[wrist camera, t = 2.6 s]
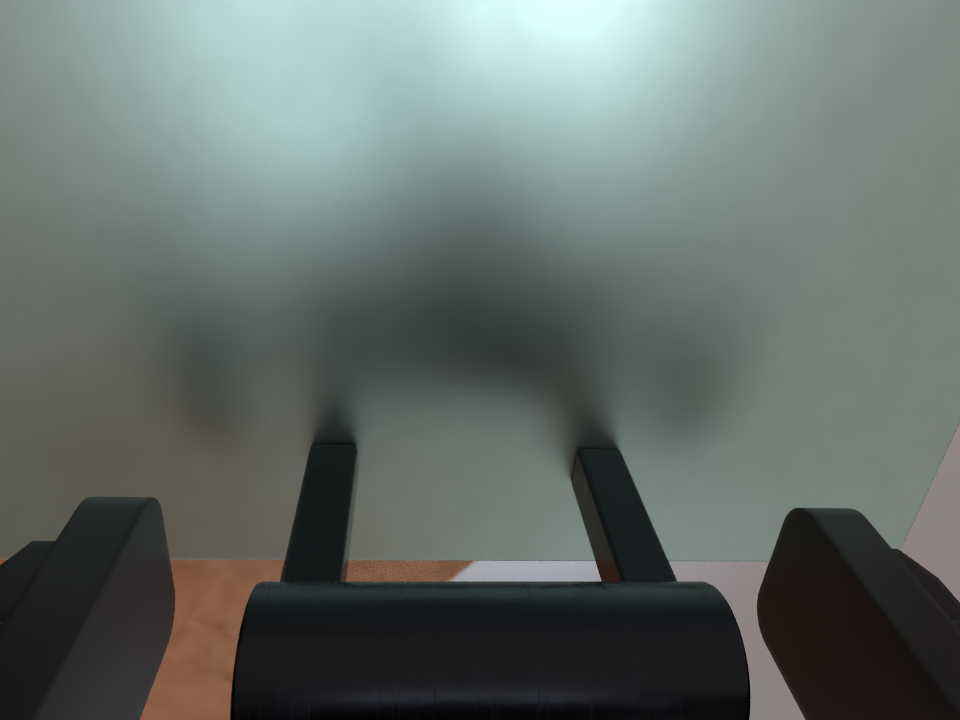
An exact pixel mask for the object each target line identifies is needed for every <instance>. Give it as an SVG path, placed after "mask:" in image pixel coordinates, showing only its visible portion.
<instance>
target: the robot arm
mask: <svg viewBox="0 0 960 720" xmlns="http://www.w3.org/2000/svg"><path fill="white" fill-rule="evenodd" d="M174 612H175V590H174V583H173V577H172V570H171V564H170V558H169V552H168V545H167V539H166V533H165V527H164V520H163V514H162V509H161V506H160V503H159V501H158V500H157V499H156V498H154V497H87V498H85V499H84V500H83V501H82V502H81V503H80V504H79V505H78V507H77V508H76V510H75V511H74V513H73V514H72V516H71V518H70V519H69V521H68V522H67V524H66V525H65V527H64V528H63V530H62V531H61V533H60V535H59V536H58V538H57V539H56V541H31V542H30V543H29V544H28V545H26V546H25V547H24V548H22V549H21V550H20V551H18V552H17V553H16V554H14V555H13V556H12V557H10V558H9V559H8V560H7V561H5V562H4V563H3V564H1V565H0V720H140V717H141V715H142V712H143V709H144V707H145V704H146V701H147V699H148V696H149V693H150V691H151V688H152V685H153V683H154V680H155V677H156V675H157V672H158V669H159V667H160V664H161V661H162V659H163V656H164V653H165V651H166V648H167V645H168V642H169V639H170V635H171V631H172V626H173V620H174ZM757 615H758V621H759V627H760V631H761V634H762V637H763V639H764V641H765V644H766V646H767V647H768V649H769V651H770V653H771V655H772V657H773V659H774V661H775V663H776V665H777V666H778V668H779V670H780V672H781V674H782V676H783V678H784V680H785V682H786V684H787V685H788V687H789V689H790V691H791V693H792V695H793V697H794V699H795V701H796V703H797V704H798V706H799V708H800V710H801V712H802V714H803V716H804V718H805V720H960V602H959V601H958V600H957V599H956V598H955V597H954V596H953V594H952V593H951V592H950V591H949V590H948V589H947V588H946V587H945V585H944V584H943V583H942V582H941V581H940V580H939V578H937V577H936V576H935V575H933V574H932V573H930V572H929V571H928V570H926V569H925V568H923V567H922V566H921V565H919V564H918V563H917V562H915V561H914V560H912V559H911V558H910V557H908V556H907V555H905V554H904V553H903V552H901V551H900V550H899V549H892V548H891V547H890V546H889V545H888V543H887V542H886V541H885V540H884V539H883V537H882V536H881V535H880V534H879V533H878V532H877V530H876V529H875V528H874V527H873V526H872V524H871V523H870V522H869V521H868V520H867V518H866V517H865V516H864V515H863V514H862V513H860V512H859V511H857V510H855V509H851V508H794V509H792V510H791V511H790V512H789V513H788V514H787V516H786V517H785V520H784V522H783V525H782V528H781V530H780V533H779V536H778V539H777V542H776V545H775V547H774V550H773V553H772V556H771V559H770V562H769V565H768V567H767V570H766V573H765V576H764V579H763V582H762V584H761V588H760V591H759V594H758V600H757Z"/></svg>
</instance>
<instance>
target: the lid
mask: <svg viewBox="0 0 960 720" xmlns="http://www.w3.org/2000/svg"><path fill="white" fill-rule="evenodd" d="M959 423H960V0H0V559H9V558H10V557H12V556H13V555H14V554H16V553H17V552H18V551H20V550H21V549H22V548H24V547H25V546H26V545H28V544H29V543H30V542H31V541H56V539H57V538H58V536H59V535H60V533H61V531H62V530H63V528H64V527H65V525H66V524H67V522H68V521H69V519H70V518H71V516H72V514H73V513H74V511H75V510H76V508H77V507H78V505H79V504H80V503H81V502H82V501H83V500H84V499H85V498H87V497H154V498H156V499H157V500H158V501H159V503H160V506H161V509H162V514H163V520H164V527H165V533H166V539H167V545H168V552H169V558H170V559H171V560H285V561H284V565H283V570H282V574H281V579H280V582H261V583H258V584H257V585H256V586H255V587H254V589H253V590H252V593H251V595H250V597H249V600H248V602H247V605H246V609H245V612H244V616H243V620H242V624H241V628H240V633H239V638H238V644H237V650H236V657H235V664H234V672H233V681H232V693H231V709H230V720H749V716H750V680H749V671H748V664H747V658H746V653H745V648H744V644H743V640H742V637H741V634H740V630H739V627H738V624H737V622H736V619H735V617H734V615H733V612H732V610H731V608H730V606H729V604H728V603H727V601H726V599H725V598H724V597H723V595H722V594H721V593H720V592H719V591H718V589H716V588H715V587H714V586H712V585H710V584H708V583H706V582H677V580H676V577H675V575H674V573H673V571H672V568H671V566H670V564H669V561H770V559H771V556H772V553H773V550H774V547H775V545H776V542H777V539H778V536H779V533H780V530H781V528H782V525H783V522H784V520H785V517H786V516H787V514H788V513H789V512H790V511H791V510H792V509H794V508H851V509H855V510H857V511H859V512H860V513H862V514H863V515H864V516H865V517H866V518H867V520H868V521H869V522H870V523H871V524H872V526H873V527H874V528H875V529H876V530H877V532H878V533H879V534H880V535H881V536H882V537H883V539H884V540H885V541H886V542H887V543H888V545H889V546H890V547H891V548H892V549H899V550H900V551H901V549H902V546H903V544H904V542H905V540H906V537H907V536H908V533H909V531H910V529H911V527H912V525H913V523H914V521H915V518H916V516H917V514H918V512H919V510H920V508H921V505H922V503H923V501H924V499H925V497H926V495H927V492H928V490H929V488H930V486H931V484H932V482H933V480H934V477H935V475H936V473H937V471H938V469H939V467H940V464H941V462H942V460H943V458H944V456H945V454H946V451H947V449H948V447H949V445H950V443H951V441H952V439H953V436H954V434H955V432H956V430H957V427H958V426H959ZM348 560H476V561H483V560H484V561H485V560H486V561H488V560H490V561H500V560H501V561H596V564H597V567H598V571H599V574H600V577H601V580H602V582H346V577H347V569H348Z"/></svg>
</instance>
